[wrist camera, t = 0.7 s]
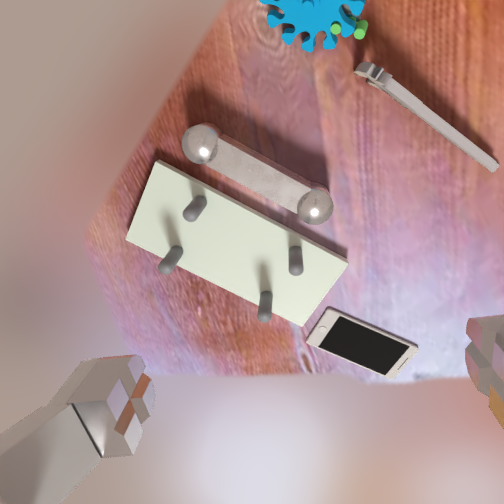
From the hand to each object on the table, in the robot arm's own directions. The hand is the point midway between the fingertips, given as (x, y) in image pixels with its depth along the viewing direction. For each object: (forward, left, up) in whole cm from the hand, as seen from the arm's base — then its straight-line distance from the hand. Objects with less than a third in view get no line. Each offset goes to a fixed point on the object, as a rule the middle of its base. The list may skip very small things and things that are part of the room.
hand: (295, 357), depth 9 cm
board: (+15, 0, -37) cm, 40 cm away
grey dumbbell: (+4, -2, -37) cm, 37 cm away
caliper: (-10, +12, -37) cm, 40 cm away
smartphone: (+20, +24, -37) cm, 49 cm away
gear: (-13, -5, -37) cm, 39 cm away
